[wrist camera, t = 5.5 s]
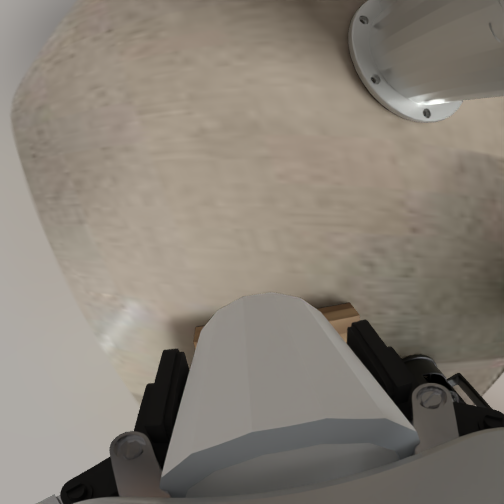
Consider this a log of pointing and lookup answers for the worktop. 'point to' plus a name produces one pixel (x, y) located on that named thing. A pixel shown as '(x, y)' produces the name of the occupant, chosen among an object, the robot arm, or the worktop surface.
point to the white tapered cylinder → (278, 405)
